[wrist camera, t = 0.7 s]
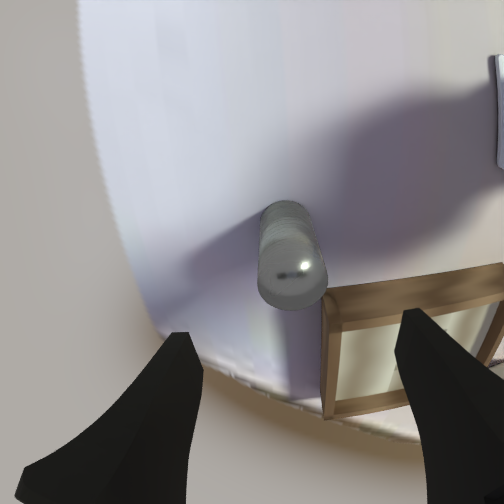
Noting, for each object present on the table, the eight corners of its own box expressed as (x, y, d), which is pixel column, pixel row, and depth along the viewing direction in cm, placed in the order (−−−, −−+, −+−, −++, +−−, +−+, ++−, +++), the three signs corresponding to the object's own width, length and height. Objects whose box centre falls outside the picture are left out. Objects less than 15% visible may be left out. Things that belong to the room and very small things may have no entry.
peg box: (501, 262, 18) (524, 286, 15) (465, 359, 24) (477, 384, 21) (321, 289, 20) (329, 324, 17) (320, 389, 26) (323, 420, 23)
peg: (309, 197, 17) (327, 248, 12) (311, 243, 19) (328, 306, 13) (256, 203, 17) (252, 256, 12) (263, 248, 19) (261, 313, 14)
